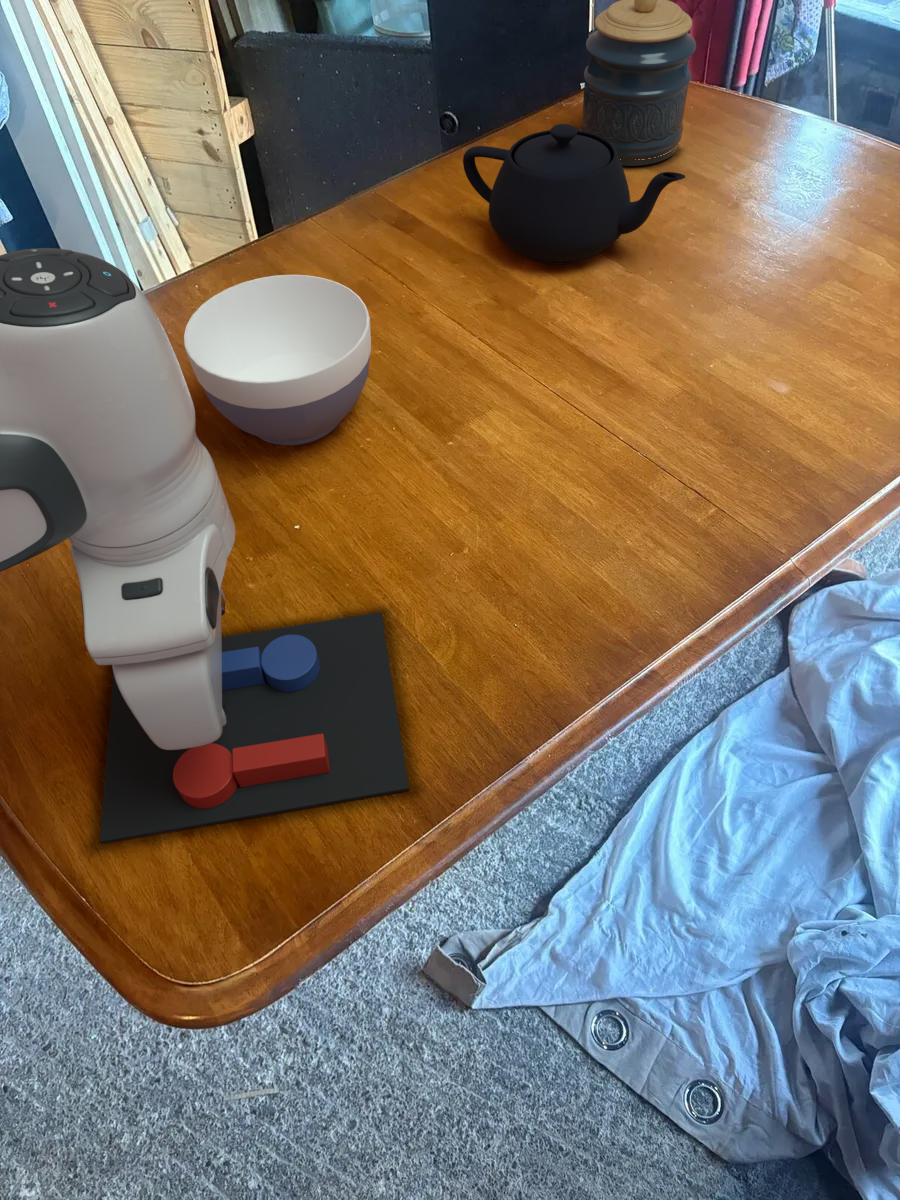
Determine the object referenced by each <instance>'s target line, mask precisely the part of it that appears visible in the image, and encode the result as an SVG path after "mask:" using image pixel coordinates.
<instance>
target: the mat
mask: <svg viewBox="0 0 900 1200" xmlns="http://www.w3.org/2000/svg"><path fill="white" fill-rule="evenodd" d="M285 635H300V636H303V637H305V638H307V639H309V640H310V641H311V642H312V643H313V644H314V646H315V648H316V651H317V655H318V659H319V663H320V669H319V673H318V675H317V677H316V679H315V680H314V681H313V682H312V683H311V684H310V685H309V686H307V687H305V688H304V689H301V690H298V691H294V692H283V691H280V690H277V689H275V688H273V687H272V686H271V685H270V684H269V683H268V682H267V680H266V677H265V683H264V684H259V685H253V686H246V687H240V688H234V689H228V690H222V697H223V699H224V702H225V704H226V724H225V725H224V726H223V730H222V735H221V737H220V738H219V739H218V740H216V741H214V742H212V743H214V744H218V745H221V746H223V747H225V748H226V749H228V750H229V752H230V753H231V754H232V750H233V748H238V747H244V746H250V745H256V744H262V743H268V742H274V741H280V740H286V739H292V738H298V737H304V736H310V735H316V734H324V738H325V741H326V745H327V748H328V755H329V765H330V772H328V773H322V774H317V775H311V776H305V777H299V778H293V779H287V780H281V781H275V782H270V783H264V784H258V785H252V786H246V787H240V786H239V784H238V786H237V788H236V790H235V792H234V793H233V794H232V796H231V797H230V798H229V799H228V800H226V801H225V802H223V803H222V804H220V805H218V806H215V807H212V808H196V807H193V806H191V805H189V804H188V803H186V802H185V801H184V799H183V798H182V796H181V795H180V793H179V791H178V790H177V788H176V786H175V784H174V781H173V771H174V767H175V765H176V763H177V761H178V760H179V758H180V757H181V756H182V755H183V754H184V753H185V752H186V751H188V750H189V749H191V748H187V749H179V750H165V749H161V748H159V747H158V746H157V745H156V744H155V743H154V742H153V741H152V740H151V739H150V737H149V736H148V735H147V733H146V732H145V731H144V729H143V728H142V726H141V725H140V723H139V722H138V720H137V719H136V717H135V716H134V714H133V713H132V711H131V710H130V708H129V707H128V705H127V703H126V702H125V700H124V698H123V696H122V694H121V692H120V690H119V688H118V685H117V683H116V680H115V676H114V673H113V672H112V673H113V675H112V688H111V699H110V711H109V723H108V736H107V747H106V748H107V749H106V760H105V761H106V762H105V773H104V783H103V784H104V785H103V796H102V797H103V798H102V808H101V822H100V833H99V834H100V835H99V843H101V844H102V845H103V844H109V843H114V842H115V843H116V842H121V841H126V840H131V839H138V838H143V837H150V836H155V835H161V834H167V833H172V832H173V833H174V832H178V831H183V830H185V831H186V830H190V829H195V828H202V827H207V826H213V825H218V824H219V825H220V824H225V823H230V822H235V821H242V820H248V819H252V818H260V817H265V816H270V815H277V814H283V813H287V812H293V811H299V810H300V811H301V810H305V809H310V808H316V807H317V808H318V807H322V806H327V805H328V806H329V805H335V804H341V803H345V802H350V801H357V800H364V799H368V798H375V797H380V796H385V795H392V794H397V793H398V794H399V793H403V792H409V791H410V786H409V781H408V774H407V773H408V772H407V768H406V767H407V766H406V762H405V754H404V747H403V741H402V735H401V730H400V729H401V728H400V723H399V717H398V716H399V715H398V709H397V702H396V697H395V690H394V685H393V679H392V678H393V677H392V673H391V666H390V660H389V653H388V647H387V640H386V633H385V627H384V620H383V615H382V612H381V611H379V612H374V613H367V614H361V615H360V614H359V615H355V616H347V617H341V618H334V619H329V620H323V621H317V622H310V623H303V624H297V625H291V626H285V627H284V626H283V627H279V628H272V629H265V630H259V631H252V632H245V633H239V634H234V635H233V634H232V635H226V636H222V652H227V651H233V650H239V649H246V648H252V647H259V650H260V653H261V656H262V653H263V651H264V649H265V648H266V646H267V645H268V644H269V643H270V642H272V641H273V640H275V639H276V638H279V637H281V636H285ZM232 756H233V754H232Z"/></svg>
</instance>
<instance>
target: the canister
mask: <svg viewBox="0 0 900 1200" xmlns="http://www.w3.org/2000/svg"><path fill="white" fill-rule="evenodd" d="M594 26H595V28H596V30H595V31H594V32H593V33H592V34H590V35H589V36H588V37H587V39H586V42H585V49H586V51H587V53H588V54H589V58H588V65H587V66H586V67H585V68H584V71H583V79H584V85H583V86H584V87H583V88H584V89H583V102H582V111H581V112H582V113H581V120H580V123H579V131H583V132H588V133H592V134H595V135H597V136H600V137H602V138H604V139H606V140H607V141H609V142H610V143H611V144H612V145H613V146H614V148H615V149H616V151H617V153H618V156H619V159H621V160H620V162H621V164H622V167H640V166H641V167H642V166H648V165H653V164H657V163H660V162H663V161H666V160H667V159H669V158H670V157H672V156H673V155H674V154H675V153H676V152H677V151H678V148H679V144H680V142H681V140H682V137H683V131H684V123H683V121H684V116H685V109H686V102H687V96H688V90H689V84H690V82H691V80H692V72H691V70H690V68H689V67H690V58H691V57H692V56H693V54H695V51H696V49H697V42H696V40H695V38H694V37H693V35H691V33H689V32H690V31H691V29H692V28H693V27H692V26H693V19H692V17H691V16H690V15H689V13H687V12H686V11H684V10H683V9H682V8H681V7H680V5H678V4H677V3H675V2H673V1H671V0H618V1H616V2H613V3H612V4H610V5H609V7H607V8H606V9H605V10H603V11H602V12H600V13H599V14H598V15H597V16H596V17H595V19H594ZM678 143H679V144H678ZM676 146H677V147H676ZM675 147H676V148H675ZM673 148H675V149H674V150H672V149H673ZM670 150H672V151H671V152H669V151H670ZM667 152H669V153H667ZM665 153H667V154H665ZM663 154H665V155H663ZM660 155H662V156H660ZM658 156H659V157H658ZM654 157H656V158H654ZM648 158H651V159H648ZM635 159H636V160H635ZM638 159H640V160H638ZM641 159H645V160H641Z"/></svg>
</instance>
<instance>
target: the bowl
mask: <svg viewBox="0 0 900 1200" xmlns="http://www.w3.org/2000/svg"><path fill="white" fill-rule="evenodd" d="M369 313H370V312H369V310H368V307H367V306H366V304H365V302H364V301H363V300H362V298H361V297H360V296H359V295H358V294H357V293H356V292H355V291H353V290H352V289H351V288H349V287H348V286H345V285H343V284H341V283H340V282H338V281H335V280H331V279H328V278H325V277H319V276H316V275H315V276H313V275H306V274H277V275H270V276H263V277H258V278H254V279H251V280H247V281H244V282H240V283H237V284H235V285H232V286H230V287H228V288H226V289H224V290H222V291H220V292H219V293H216V294H215V295H212V296H211V297H210V298H209V299H207V300H206V301H204V302H203V303H202V304H201V305H200V306H199V307H198V308H197V309H196V310H195V311H194V312H193V313H192V315H191V317H190V318H189V320H188V322H187V323H186V325H185V330H184V333H183V345H184V350H185V353H186V356H187V357H188V358H187V359H188V360H189V363H190V365H191V368H192V371H193V373H194V375H195V377H196V380H197V383H199V385H200V386H201V388H202V389H203V392H204V393H205V395H206V397H207V399H208V400H209V402H210V403H211V405H212V406H213V407H214V408H215V409H216V411H218V412H219V413H220V414H221V415H222V416H224V417H225V418H226V419H227V420H228V421H229V422H231V424H233V425H234V426H235V427H237V428H238V429H239V430H241V431H243V432H244V433H248V434H249V435H252V436H255V437H257V438H259V439H260V440H262V441H264V442H267V443H269V444H273V445H278V446H279V445H280V446H299V445H304V444H308V443H311V442H315V441H318V440H319V439H322V438H325V437H326V436H327V435H329V434H330V433H332V432H333V431H334V430H335V429H336V428H337V427H338V425H339V424H340V423H341V421H342V420H343V419H345V418H346V417H347V416H348V414H350V413H351V412H352V411H353V408H354V407H355V405H356V404H357V402H358V400H359V398H360V396H361V394H362V391H363V389H364V388H365V385H366V382H367V381H368V377H369V369H370V360H371V352H372V339H371V338H372V335H371V334H372V333H371V316H370V314H369Z"/></svg>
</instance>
